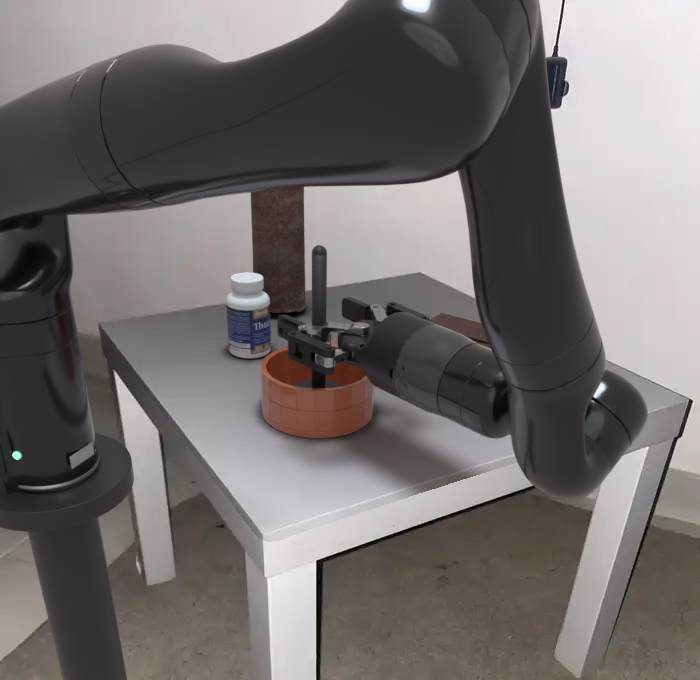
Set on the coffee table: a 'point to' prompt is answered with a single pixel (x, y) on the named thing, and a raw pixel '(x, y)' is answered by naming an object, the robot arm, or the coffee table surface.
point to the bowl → (314, 398)
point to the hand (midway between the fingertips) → (313, 315)
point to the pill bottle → (248, 316)
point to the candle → (280, 246)
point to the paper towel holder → (318, 312)
